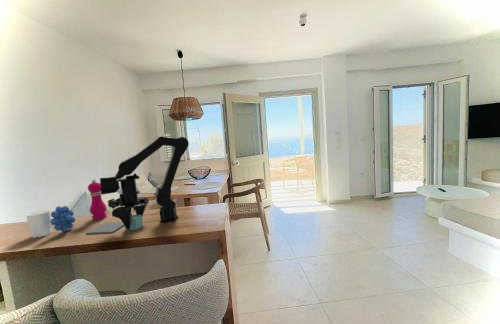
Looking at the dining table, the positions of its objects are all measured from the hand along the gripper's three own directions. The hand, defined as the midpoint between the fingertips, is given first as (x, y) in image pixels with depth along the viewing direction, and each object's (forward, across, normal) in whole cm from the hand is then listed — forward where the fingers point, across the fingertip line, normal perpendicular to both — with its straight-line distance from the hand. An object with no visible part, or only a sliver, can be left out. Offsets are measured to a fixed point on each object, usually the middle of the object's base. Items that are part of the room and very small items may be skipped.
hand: (134, 225), depth 108 cm
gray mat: (+1, -1, -12) cm, 13 cm away
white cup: (+1, +3, -40) cm, 41 cm away
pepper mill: (+1, -16, -28) cm, 32 cm away
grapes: (+1, +1, -30) cm, 31 cm away
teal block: (+1, 0, 0) cm, 1 cm away
